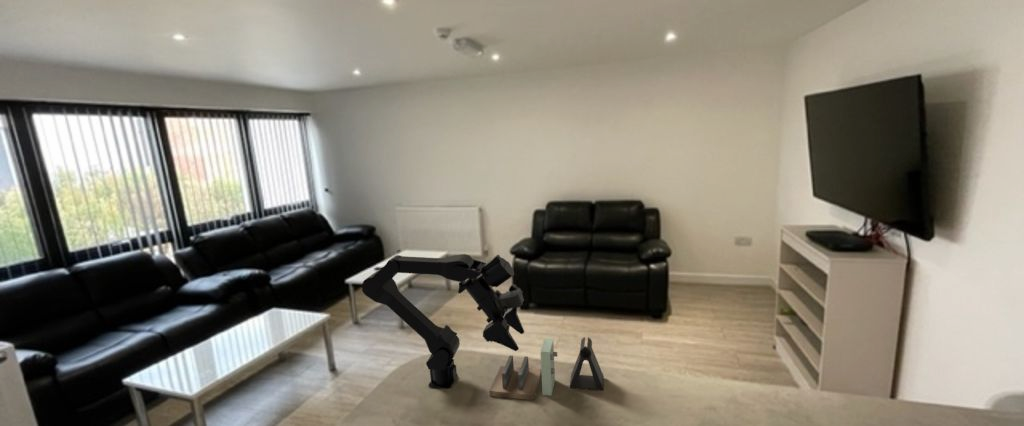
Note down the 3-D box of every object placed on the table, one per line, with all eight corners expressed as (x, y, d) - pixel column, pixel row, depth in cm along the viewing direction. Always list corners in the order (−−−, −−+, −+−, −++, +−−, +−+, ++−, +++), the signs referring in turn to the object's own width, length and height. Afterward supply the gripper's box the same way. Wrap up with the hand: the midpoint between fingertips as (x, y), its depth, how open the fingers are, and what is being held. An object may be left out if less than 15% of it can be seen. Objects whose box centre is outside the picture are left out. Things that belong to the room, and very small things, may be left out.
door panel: (542, 394, 112) (540, 351, 110) (546, 379, 119) (544, 338, 116) (555, 396, 111) (553, 352, 109) (558, 380, 118) (556, 339, 116)
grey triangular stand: (603, 377, 118) (603, 338, 116) (603, 390, 112) (602, 349, 110) (571, 375, 120) (570, 336, 118) (569, 388, 114) (568, 347, 112)
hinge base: (489, 395, 113) (488, 375, 112) (501, 370, 124) (499, 351, 123) (534, 400, 110) (533, 379, 109) (541, 373, 122) (540, 354, 120)
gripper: (500, 293, 102) (539, 343, 103) (514, 268, 120) (547, 311, 121) (466, 317, 105) (504, 365, 106) (484, 289, 123) (517, 330, 124)
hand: (520, 341), depth 114 cm, fingers open, 9 cm apart
